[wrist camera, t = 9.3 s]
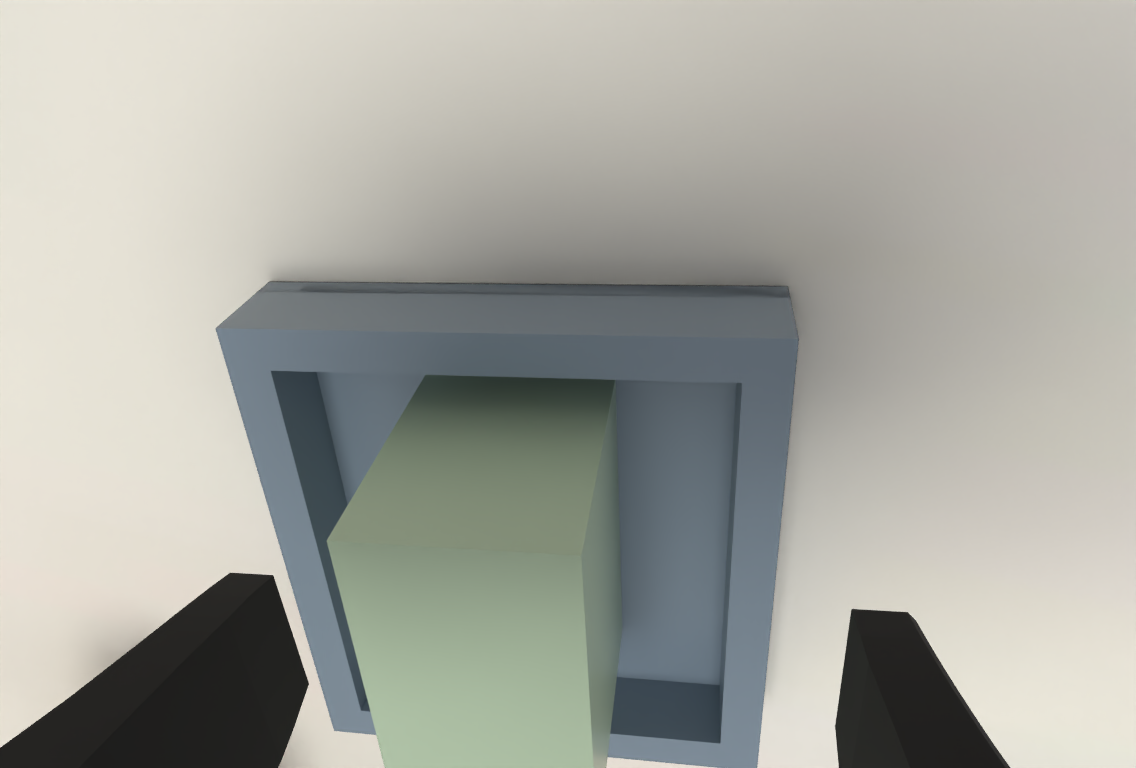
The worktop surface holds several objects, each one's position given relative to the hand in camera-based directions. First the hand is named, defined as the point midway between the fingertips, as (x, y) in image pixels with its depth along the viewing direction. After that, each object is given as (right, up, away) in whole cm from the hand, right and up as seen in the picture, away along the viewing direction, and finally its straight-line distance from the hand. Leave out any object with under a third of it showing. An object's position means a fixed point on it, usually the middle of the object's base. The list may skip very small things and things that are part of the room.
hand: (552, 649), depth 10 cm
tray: (-1, 0, +12) cm, 12 cm away
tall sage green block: (-1, 0, +11) cm, 11 cm away
